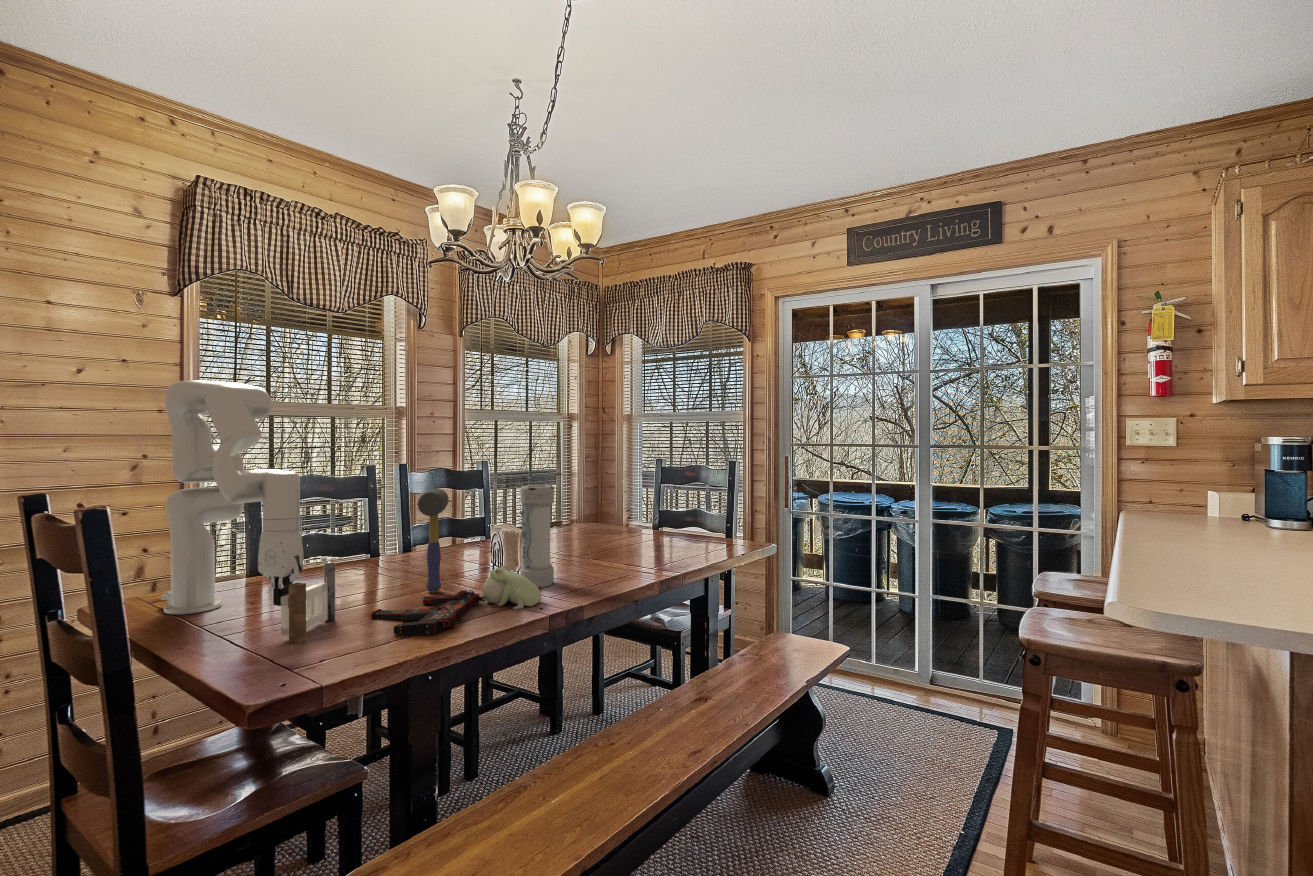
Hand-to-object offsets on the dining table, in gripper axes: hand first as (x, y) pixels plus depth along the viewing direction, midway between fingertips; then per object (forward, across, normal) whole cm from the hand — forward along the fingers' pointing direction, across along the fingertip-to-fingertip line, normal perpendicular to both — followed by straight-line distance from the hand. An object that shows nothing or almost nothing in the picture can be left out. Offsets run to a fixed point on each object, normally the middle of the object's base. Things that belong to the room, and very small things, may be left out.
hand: (282, 604), depth 154 cm
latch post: (+7, +9, -2) cm, 11 cm away
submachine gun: (+8, +18, +27) cm, 33 cm away
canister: (+7, +24, +66) cm, 71 cm away
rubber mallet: (+7, +3, +45) cm, 46 cm away
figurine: (+7, +31, +45) cm, 55 cm away
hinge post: (+7, +1, +12) cm, 14 cm away
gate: (+6, +4, +3) cm, 8 cm away
